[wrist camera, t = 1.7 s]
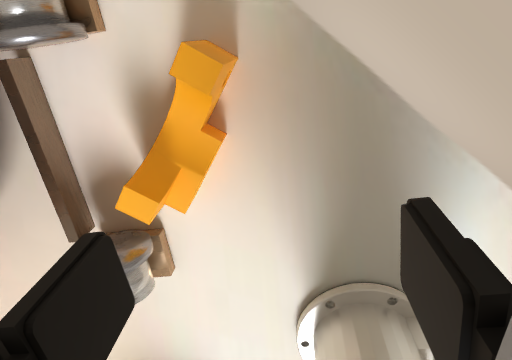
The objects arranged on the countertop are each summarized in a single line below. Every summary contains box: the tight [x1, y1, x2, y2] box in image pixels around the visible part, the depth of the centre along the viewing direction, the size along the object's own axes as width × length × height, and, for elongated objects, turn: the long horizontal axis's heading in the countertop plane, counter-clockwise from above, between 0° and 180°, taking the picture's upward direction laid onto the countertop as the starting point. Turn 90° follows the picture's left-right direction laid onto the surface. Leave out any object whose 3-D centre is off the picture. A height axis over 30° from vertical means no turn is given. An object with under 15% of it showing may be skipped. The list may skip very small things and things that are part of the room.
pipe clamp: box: [115, 40, 238, 225], centre depth 24 cm, size 12×4×6 cm, turn 152°
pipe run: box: [0, 0, 175, 304], centre depth 26 cm, size 8×26×6 cm, turn 9°
